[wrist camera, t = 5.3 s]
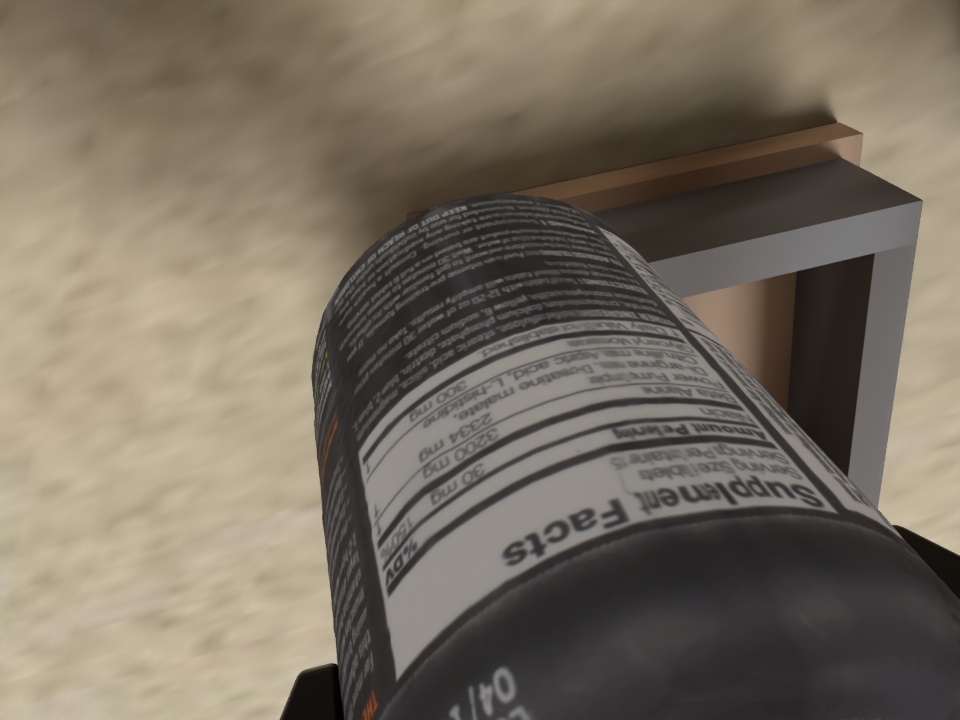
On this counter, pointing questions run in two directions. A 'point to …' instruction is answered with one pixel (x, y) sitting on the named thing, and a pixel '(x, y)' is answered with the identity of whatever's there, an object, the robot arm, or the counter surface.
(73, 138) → the counter surface
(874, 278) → the holder
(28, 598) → the counter surface
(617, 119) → the counter surface
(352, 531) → the pill bottle
